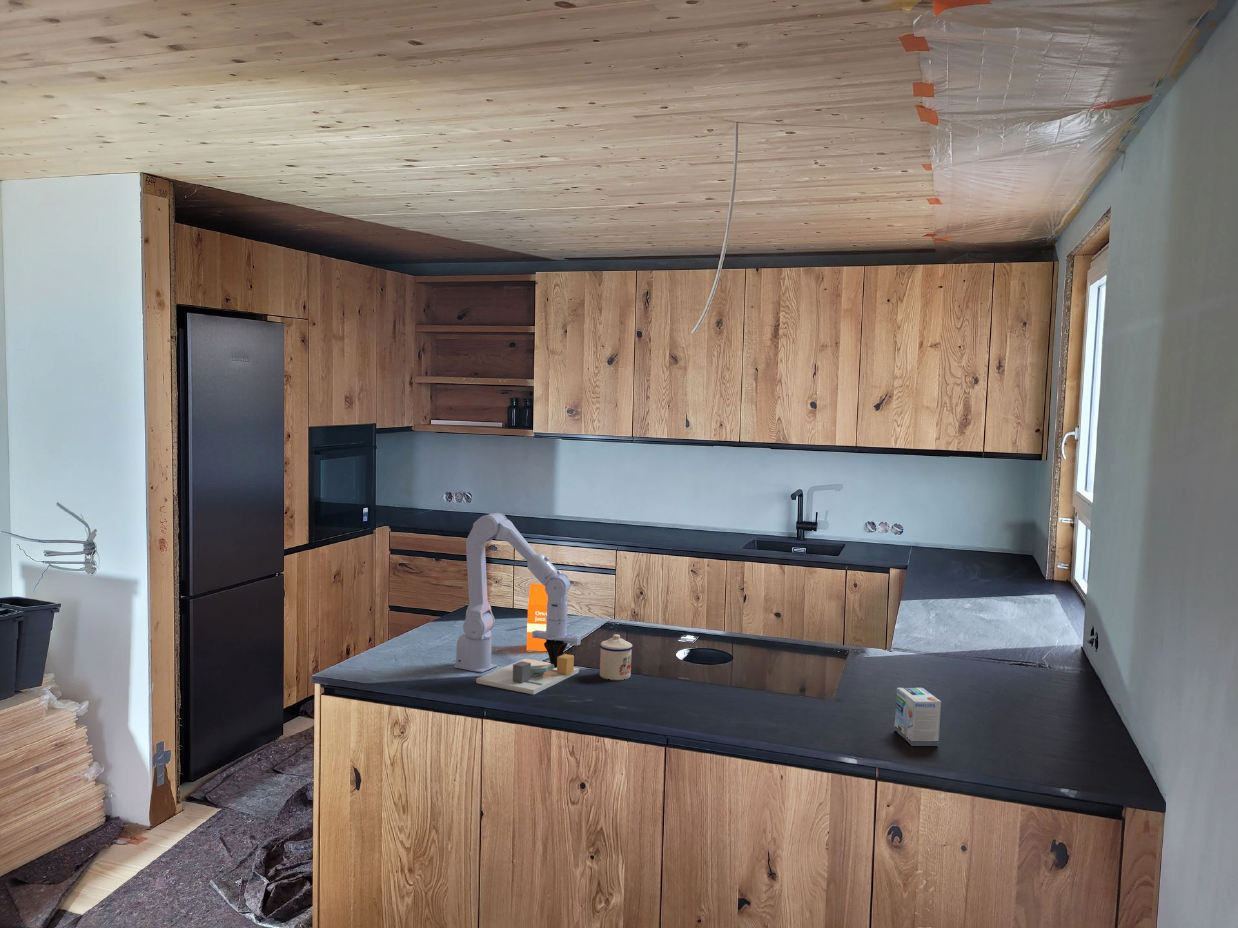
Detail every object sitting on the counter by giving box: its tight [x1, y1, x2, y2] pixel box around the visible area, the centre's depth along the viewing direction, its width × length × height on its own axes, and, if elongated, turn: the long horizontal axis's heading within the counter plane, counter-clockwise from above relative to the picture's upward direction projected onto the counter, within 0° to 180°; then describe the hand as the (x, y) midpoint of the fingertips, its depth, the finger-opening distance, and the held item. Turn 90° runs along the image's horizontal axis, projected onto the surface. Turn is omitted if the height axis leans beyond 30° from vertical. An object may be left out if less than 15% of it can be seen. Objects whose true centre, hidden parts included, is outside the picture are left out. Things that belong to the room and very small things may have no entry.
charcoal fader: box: [512, 661, 531, 683], centre depth 244 cm, size 3×4×4 cm
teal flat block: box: [530, 664, 555, 673], centre depth 250 cm, size 8×4×1 cm, turn 63°
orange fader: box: [557, 653, 575, 675], centre depth 253 cm, size 3×4×4 cm
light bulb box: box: [894, 687, 942, 741], centre depth 214 cm, size 11×7×11 cm, turn 5°
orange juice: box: [526, 583, 548, 651], centre depth 282 cm, size 8×9×20 cm
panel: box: [475, 658, 580, 696], centre depth 252 cm, size 18×24×2 cm
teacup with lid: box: [599, 633, 633, 681], centre depth 257 cm, size 12×9×12 cm
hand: (555, 666), depth 255 cm, fingers closed
